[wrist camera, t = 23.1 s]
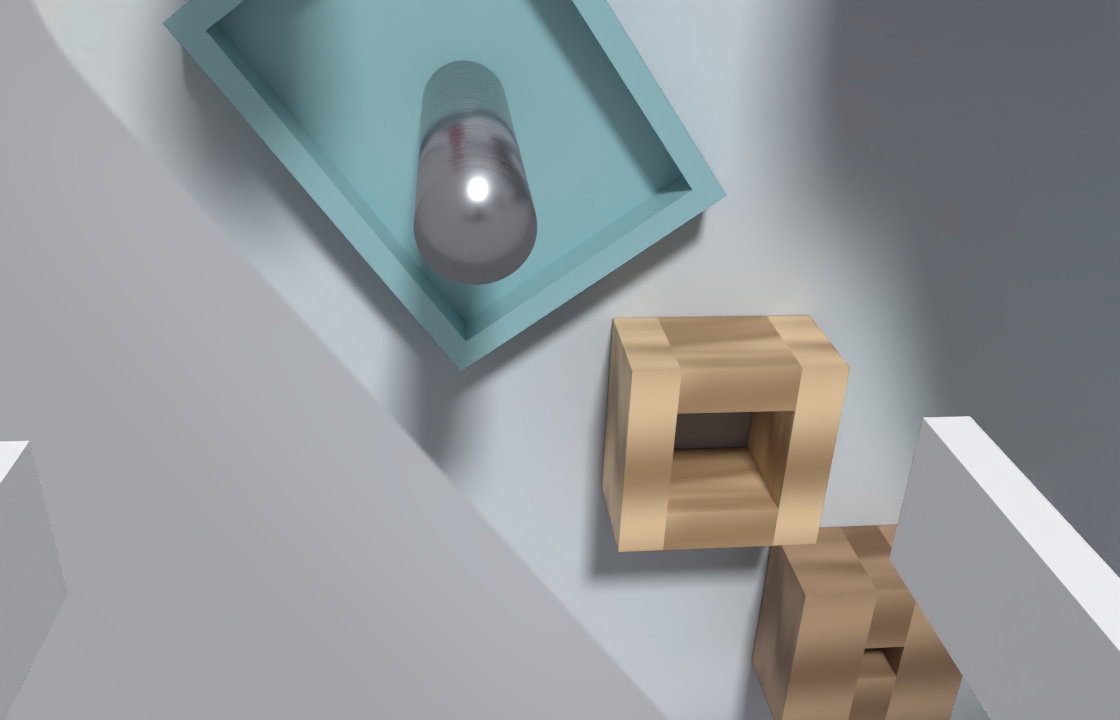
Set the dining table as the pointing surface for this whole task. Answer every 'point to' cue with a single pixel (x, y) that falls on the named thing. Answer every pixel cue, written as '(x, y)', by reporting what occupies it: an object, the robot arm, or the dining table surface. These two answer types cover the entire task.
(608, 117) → the teal tray
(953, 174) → the dining table surface
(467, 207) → the cylinder
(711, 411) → the oak block wide bore
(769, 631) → the walnut block narrow bore
